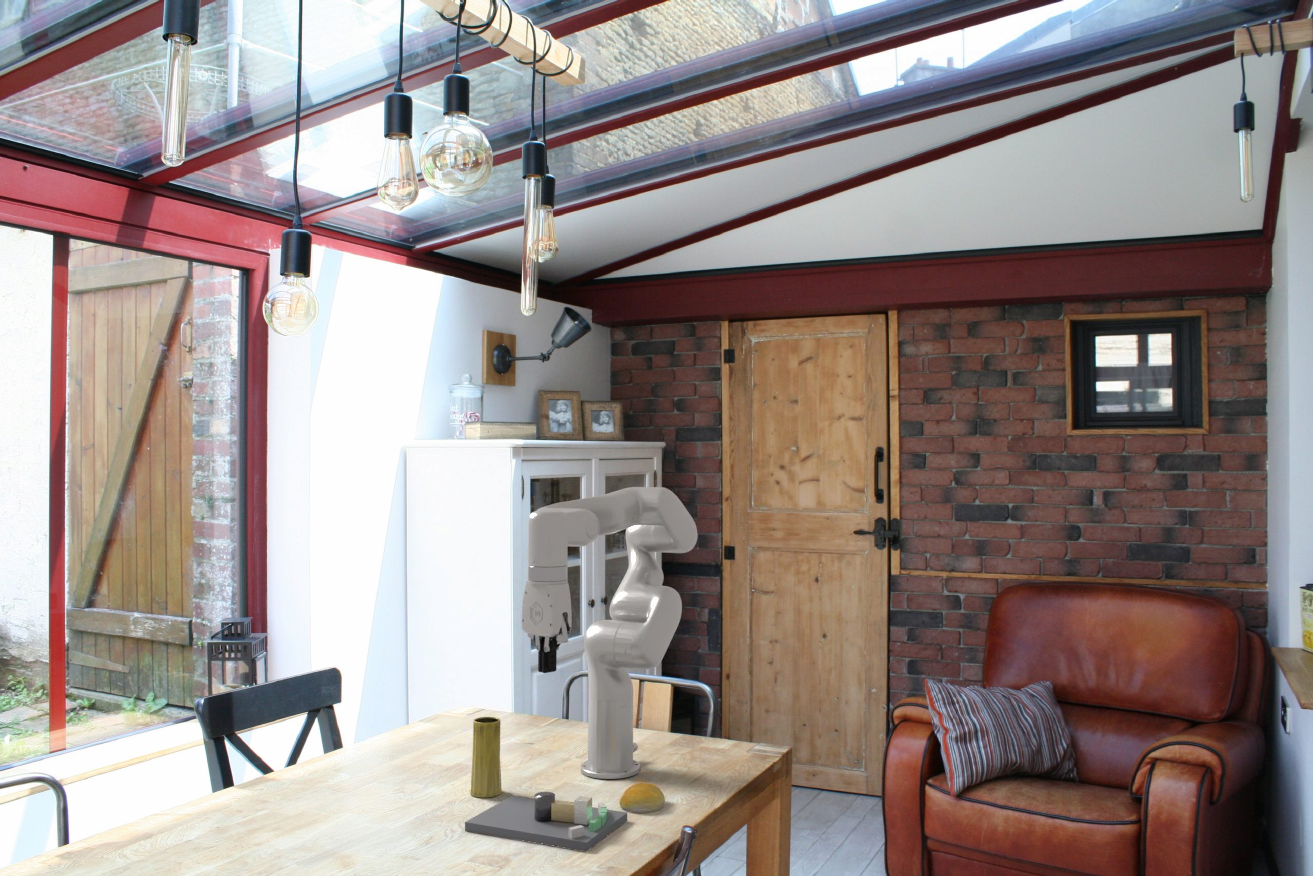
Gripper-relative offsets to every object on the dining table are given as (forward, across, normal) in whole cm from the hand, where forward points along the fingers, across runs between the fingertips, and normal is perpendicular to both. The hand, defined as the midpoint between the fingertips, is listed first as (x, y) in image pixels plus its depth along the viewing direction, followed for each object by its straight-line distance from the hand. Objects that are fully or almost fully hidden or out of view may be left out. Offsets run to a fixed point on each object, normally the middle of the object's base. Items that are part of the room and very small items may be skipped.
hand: (547, 671), depth 187 cm
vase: (+25, -14, -4) cm, 29 cm away
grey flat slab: (+25, +9, -7) cm, 28 cm away
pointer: (+23, +12, -7) cm, 27 cm away
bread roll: (+26, +13, +12) cm, 31 cm away
